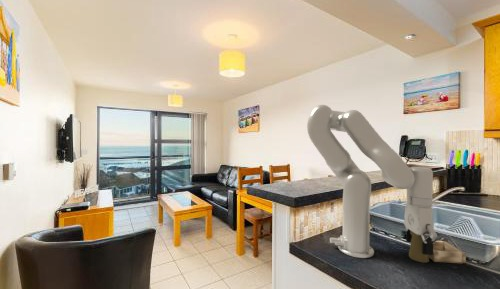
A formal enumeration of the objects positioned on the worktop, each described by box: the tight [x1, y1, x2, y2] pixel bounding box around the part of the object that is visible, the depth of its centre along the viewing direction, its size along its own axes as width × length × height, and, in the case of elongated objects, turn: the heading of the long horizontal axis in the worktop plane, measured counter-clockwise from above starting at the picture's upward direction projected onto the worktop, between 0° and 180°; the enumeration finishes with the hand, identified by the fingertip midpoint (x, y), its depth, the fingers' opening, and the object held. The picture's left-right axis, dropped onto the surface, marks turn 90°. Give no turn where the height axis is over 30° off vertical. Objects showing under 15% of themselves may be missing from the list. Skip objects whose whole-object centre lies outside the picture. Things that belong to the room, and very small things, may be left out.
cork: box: [408, 230, 430, 263], centre depth 82 cm, size 6×6×11 cm
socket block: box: [428, 240, 467, 264], centre depth 84 cm, size 10×10×4 cm
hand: (418, 247), depth 82 cm, fingers open, 9 cm apart
